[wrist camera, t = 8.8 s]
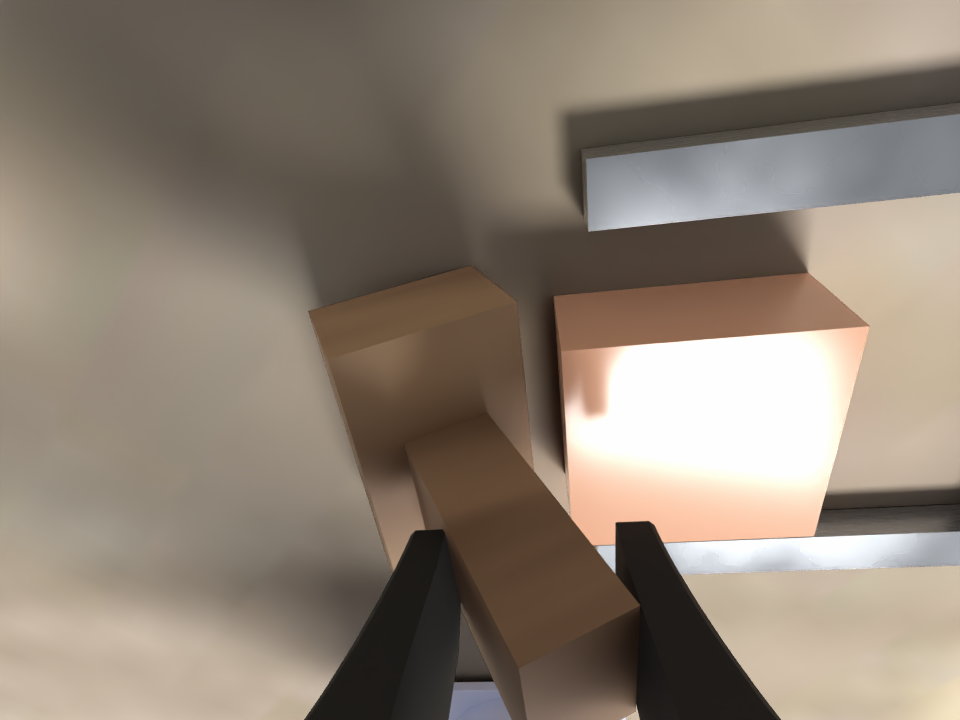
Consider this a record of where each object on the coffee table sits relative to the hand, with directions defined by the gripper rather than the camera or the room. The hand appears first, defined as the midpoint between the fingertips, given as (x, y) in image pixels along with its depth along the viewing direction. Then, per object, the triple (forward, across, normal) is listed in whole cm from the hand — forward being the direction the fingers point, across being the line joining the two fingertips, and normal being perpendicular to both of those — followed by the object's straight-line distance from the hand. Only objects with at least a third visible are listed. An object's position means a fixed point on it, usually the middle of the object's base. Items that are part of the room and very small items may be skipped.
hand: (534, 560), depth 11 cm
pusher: (+5, +3, 0) cm, 6 cm away
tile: (+6, -4, 0) cm, 7 cm away
